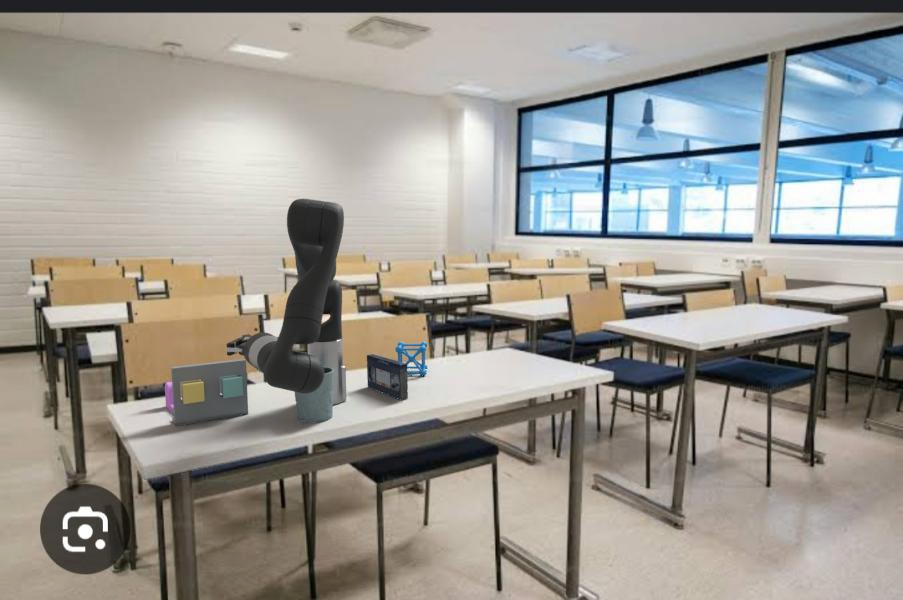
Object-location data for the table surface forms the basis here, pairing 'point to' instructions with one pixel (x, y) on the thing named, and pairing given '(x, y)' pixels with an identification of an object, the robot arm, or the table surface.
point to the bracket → (169, 395)
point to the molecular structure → (413, 356)
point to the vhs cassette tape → (387, 376)
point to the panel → (208, 392)
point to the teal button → (231, 386)
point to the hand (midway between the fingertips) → (245, 339)
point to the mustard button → (192, 391)
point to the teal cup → (317, 400)
